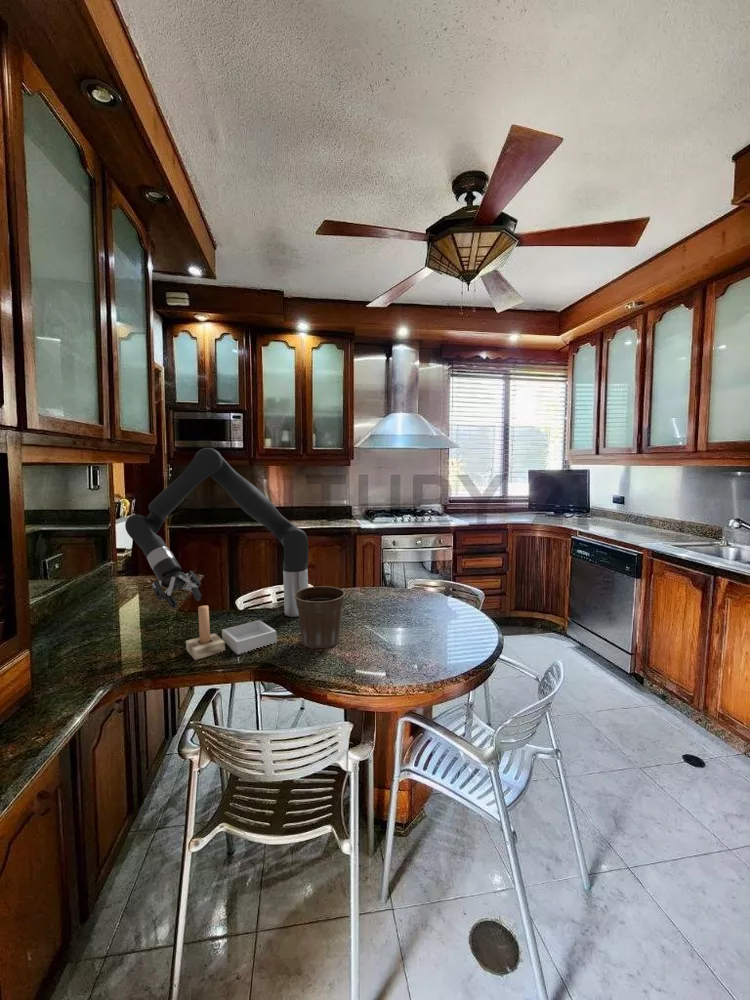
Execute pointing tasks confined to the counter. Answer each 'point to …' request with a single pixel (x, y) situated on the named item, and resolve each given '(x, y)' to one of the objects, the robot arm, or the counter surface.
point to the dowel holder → (205, 647)
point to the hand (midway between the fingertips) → (187, 603)
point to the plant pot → (319, 615)
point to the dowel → (204, 624)
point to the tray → (249, 636)
